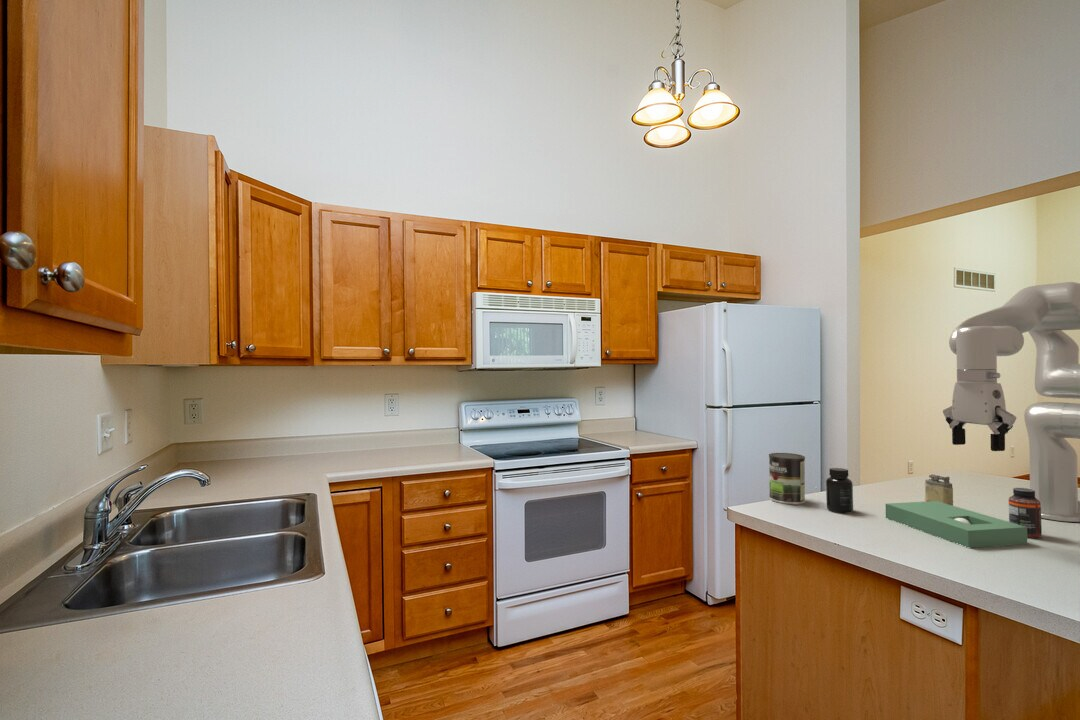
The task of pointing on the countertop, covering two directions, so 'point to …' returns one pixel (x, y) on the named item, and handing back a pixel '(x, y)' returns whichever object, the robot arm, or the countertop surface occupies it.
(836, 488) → the supplement bottle
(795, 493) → the coffee can
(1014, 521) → the supplement bottle
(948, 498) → the lighter
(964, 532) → the putting board
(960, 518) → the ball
